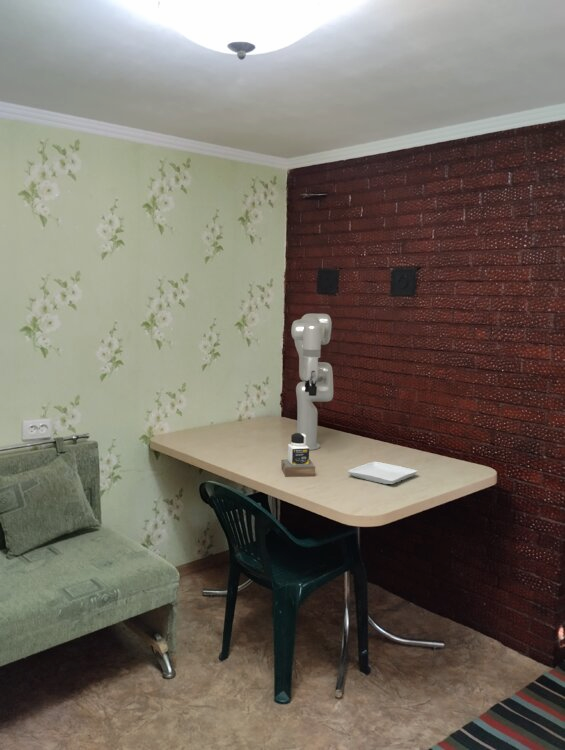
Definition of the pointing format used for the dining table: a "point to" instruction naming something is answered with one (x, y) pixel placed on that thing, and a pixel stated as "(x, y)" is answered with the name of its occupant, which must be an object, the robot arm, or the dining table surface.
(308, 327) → the robot arm
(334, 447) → the dining table surface
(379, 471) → the salad plate
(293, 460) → the medicine bottle
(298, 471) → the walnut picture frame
